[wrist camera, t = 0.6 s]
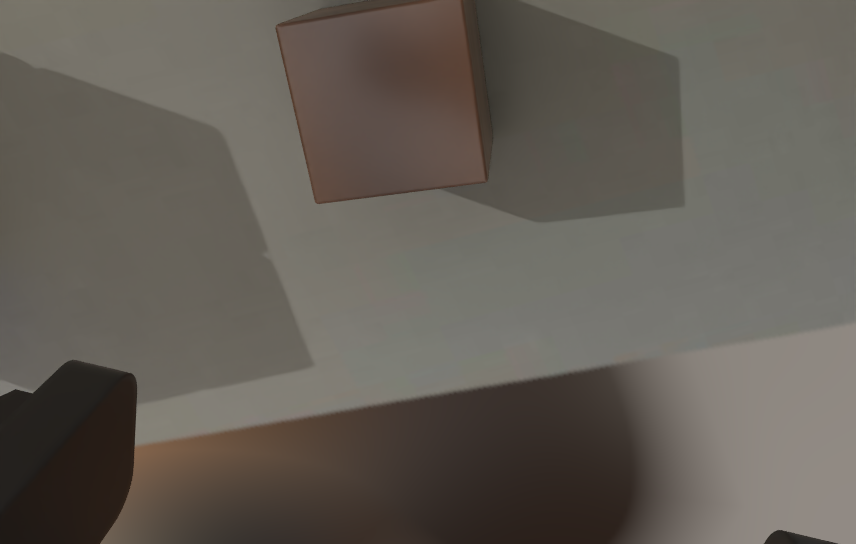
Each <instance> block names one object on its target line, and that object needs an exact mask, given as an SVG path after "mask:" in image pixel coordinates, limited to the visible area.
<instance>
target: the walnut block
mask: <svg viewBox="0 0 856 544" xmlns="http://www.w3.org/2000/svg"><path fill="white" fill-rule="evenodd" d="M276 33H277V37H278V41H279V46H280V50H281V55H282V59H283V63H284V68H285V72H286V76H287V81H288V85H289V89H290V94H291V98H292V103H293V107H294V111H295V116H296V120H297V124H298V129H299V133H300V138H301V142H302V146H303V151H304V155H305V159H306V164H307V168H308V173H309V177H310V181H311V186H312V190H313V194H314V199H315V202H316V203H317V204H322V203H330V202H338V201H345V200H353V199H361V198H369V197H377V196H385V195H393V194H400V193H408V192H416V191H424V190H432V189H440V188H447V187H455V186H463V185H471V184H479V183H486V182H487V181H488V176H489V168H490V160H491V151H492V143H493V133H492V126H491V118H490V111H489V103H488V95H487V88H486V80H485V73H484V65H483V58H482V50H481V43H480V35H479V28H478V20H477V13H476V5H475V0H369V1H363V2H357V3H352V4H346V5H340V6H334V7H328V8H322V9H318V10H316V11H313V12H310V13H307V14H305V15H302V16H299V17H296V18H294V19H291V20H288V21H285V22H282V23H280V24H278V25H276Z"/></svg>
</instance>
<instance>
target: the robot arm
mask: <svg viewBox="0 0 856 544" xmlns="http://www.w3.org/2000/svg"><path fill="white" fill-rule="evenodd" d="M136 403H137V382H136V378H135V376H134V375H133V374H131V373H127V372H123V371H119V370H115V369H111V368H106V367H102V366H98V365H94V364H90V363H85V362H81V361H77V360H71V361H68V362H66V363H65V364H64V365H62V366H61V367H60V368H59V369H58V370H57V371H56V372H55V373H54V374H53V375H52V376H51V377H50V378H49V379H48V380H47V381H45V382H44V383H43V384H42V385H41V386H40V387H39V388H38V389H37V390H36V391H35V392H34V393H33V394H32V393H28V392H24V391H20V390H16V389H15V390H13V391H11V392H9V393H7V394H4V395H2V396H0V544H100V543H101V541H102V540H103V538H104V537H105V535H106V534H107V533H108V531H109V530H110V528H111V527H112V525H113V524H114V522H115V521H116V519H117V518H118V516H119V514H120V512H121V510H122V508H123V505H124V503H125V501H126V498H127V495H128V492H129V489H130V485H131V481H132V476H133V466H134V446H135V425H136ZM764 544H837V543H833V542H829V541H824V540H820V539H816V538H811V537H807V536H803V535H799V534H795V533H791V532H787V531H782V530H777V531H775V532H773V533H772V534H771V535H770V536H769V537H768V538H767V540H766V542H765V543H764Z"/></svg>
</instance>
